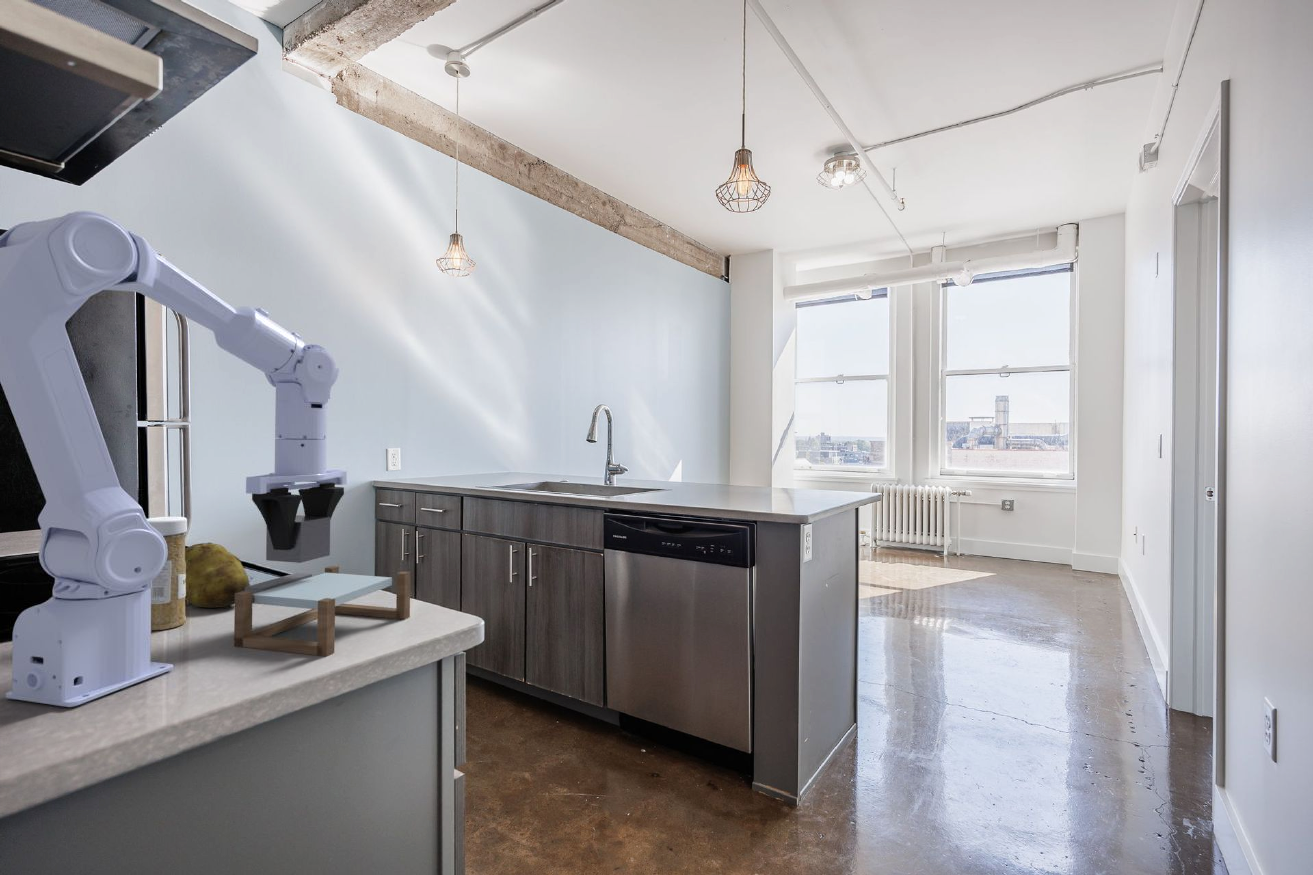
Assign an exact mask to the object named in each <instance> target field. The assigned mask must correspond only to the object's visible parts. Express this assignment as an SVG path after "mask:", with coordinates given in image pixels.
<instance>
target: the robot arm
mask: <svg viewBox="0 0 1313 875" xmlns="http://www.w3.org/2000/svg"><path fill="white" fill-rule="evenodd" d="M103 290H104V291H115V292H116V291H118V292H119V291H120V292H133V293H135V292H136V293H139V294H141V295H143V296H144V297H147V298H148V299H150V300H153V301H155V302H157V303H159V304H160V305H162V306H164V307H166V308H168V309H170V310H172V311H174V312H176V313H178V314H179V315H181V316H183V317H185V318H186V319H188V320H191V321H193V322H194V323H197V324H198V325H200V326H203V327H204V328H206V329H208V330H210V331H212V332H213V335H214V339H215V342H216V345H217V346H218V347H219V348H220V349H222V350H224V351H225V352H227V353H229V354H231V355H232V356H235V357H236V358H238V359H239V360H241V361H243V362H245V363H247V364H249V365H250V366H252V367H254V368H256V370H259V371H260V372H262V373H264V375H265V378H266V380H267V382H268V383H269V384H270V385H271V386H272V387H273V388H275V419H274V420H275V421H274V422H275V423H274V426H275V428H274V438H275V439H274V472H269V474H263V475H254V476H246V477H245V493H246V494H251V501H252V502H253V504H254V505H255V506H256V508H257V509H258V510H259V512H260V514H261V516H262V518H263V520H264V522H265V525H266V529H267V528H268V531H269V535H270V538H271V542H272V545H273V549H274V550H291V548H292V544H293V539H294V525H295V519H296V515H298V514H297V513H298V510H299V507H300V505H301V504H302V508H303V511H304V516H320V517H330V521H331V520H332V516H333V515H334V512H335V509H336V508H337V506H338V504H339V502H340V501H341V499H342V498H343V496H344V495H345V487H343V486H344V485H347V476H348V475H347V474H348V473H347V470H339V469H338V470H337V469H335V470H333V469H332V470H327V426H328V425H327V424H328V423H327V420H328V416H327V415H328V410H327V409H328V402H329V400H331V390H332V388H333V386H334V385H335V383H336V381H337V380H338V378H339V377H338V376H339V373H340V372H339V371H340V370H339V368H338V367H336V363H335V360H334V358H333V356H332V354H330V353H329V351H328V350H327V349H326V348H325V347H323V346H321V345H318V344H312V343H311V344H306V343H305V342H304V340H302V336H301V335H299V334H298V333H296V332H290V331H288V330H287V329H285V328H284V327H282V326H281V325H279V324H278V323H276V322H274V320H273V321H272V320H271V318H269V315H270V314H269V313H270V312H267V311H266V310H265V309H263V308H262V307H260V308H259V307H257V308H253V307H251V306H239V307H233V306H232V305H230V304H229V303H227V302H226V301H224V300H223V299H222V298H220V297H218V296H217V295H216V294H215V293H213V292H211V290H209V289H207V288H206V287H205V286H204V285H202V284H200V282H198V281H196V280H195V279H194V278H192V277H190V276H189V275H188V274H187V273H185V272H184V271H183V270H181V269H179V268H178V267H177V266H175V265H174V264H173V263H171V262H170V261H169V260H167V259H165V258H164V257H162V256H161V255H160V254H159V253H157V252H156V250H155V249H154V248H153V247H152V246H151V244H149V243H148V241H147V240H146V238H144V237H143V236H141V235H138V234H136V233H135V232H132V231H130V230H126V229H125V228H124V227H123V226H122V225H121V224H120V223H118V222H117V221H116V220H114V219H112V218H111V217H109V216H106V215H104V214H102V213H98V212H94V211H88V210H87V211H86V210H78V211H77V210H76V211H73V212H70V213H69V212H68V213H67V214H64V215H62V216H59V217H57V216H56V217H53V218H48V219H44V220H38V221H34V220H33V221H26V222H22V223H18V224H15V225H13V226H12V227H11V228H9V229H8V230H6V231H5V232H4V233H2V234H1V235H0V384H1V387H2V390H3V392H4V395H5V398H6V400H7V402H8V405H9V408H10V410H11V413H12V415H13V417H14V420H15V423H16V427H17V428H18V431H19V434H20V436H21V439H22V441H23V444H24V447H25V449H26V453H27V454H28V458H29V460H30V462H31V465H32V468H33V470H34V473H35V475H36V478H37V481H38V483H39V485H40V486H39V487H40V488H41V491H42V493H43V497H44V499H45V505H44V507H43V509H42V510H41V511H40V513H39V515H38V518H37V522H38V524H39V527H40V530H41V542H40V546H39V551H38V559H39V563H40V565H41V567H42V568H43V570H44V571H45V572H46V573H47V574H48V575H50V576H51V577H53V578H54V584H53V586H52V596H51V597H50V598H49V599H48V600H46V601H45V602H42V603H40V604H37V605H33V606H31V607H28V608H26V609H24V610H23V611H22V612H21V613H20V614H19V615H18V617H17V619H16V621H15V623H14V626H13V630H12V653H11V654H12V658H11V660H12V664H11V665H12V666H11V667H12V668H11V669H12V670H11V671H12V672H11V673H12V674H11V675H12V676H11V677H12V679H11V680H12V681H11V690H10V691H7V692H6V693H5V698H6V699H11V700H19V701H26V702H31V703H40V704H46V705H50V706H51V705H53V706H58V707H67V708H72V707H76V706H79V705H82V704H85V703H88V702H90V701H93V700H95V699H98V698H100V697H103V696H106V695H108V694H111V693H113V692H116V691H119V690H121V689H124V688H128V687H130V686H132V685H134V684H137V683H140V682H143V681H146V680H148V679H150V678H154V677H156V676H160V675H162V674H164V673H166V672H167V673H168V672H169V671H172V670H173V669H174V664H172V663H164V662H156V661H151V648H152V647H151V644H152V642H151V641H152V640H151V639H152V638H151V637H152V635H151V634H152V633H151V632H152V631H151V588H152V580H153V579H154V578H155V577H156V576H157V575H158V574H159V573H160V572H161V570H162V569H163V567H164V565H165V562H166V559H167V553H168V549H167V544H166V541H165V539H164V537H163V536H162V535H161V533H160V532H158V531H157V530H156V529H155V528H153V527H152V526H151V525H150V524H149V522H148V521H147V519H148V518H147V517H146V515H145V512H144V510H143V507H142V506H141V505H140V504H139V503H138V502H137V501H136V500H135V499H134V498H133V497H132V496H131V495H129V494H128V493H127V492H126V490H124V489H123V487H121V485H120V481H119V478H118V476H117V473H116V469H115V466H114V464H113V461H112V458H111V455H110V452H109V450H108V447H107V443H106V440H105V438H104V436H103V432H102V430H101V429H102V428H101V427H100V424H99V421H98V418H97V415H96V412H95V409H94V406H93V403H92V401H91V398H90V394H89V392H88V389H87V386H86V383H85V381H84V378H83V374H82V371H81V370H80V366H79V363H78V360H77V357H76V354H75V352H74V349H73V346H72V343H71V341H70V337H69V334H68V331H67V329H66V323H67V321H69V319H70V318H72V316H73V315H74V314H75V313H76V312H77V311H78V310H79V309H80V308H81V307H82V306H83V305H84V304H85V303H86V301H88V300H89V298H90V297H92V296H94V295H96V294H98V293H100V292H102V291H103ZM302 482H303V483H302ZM305 482H308V483H305ZM296 483H301V484H296ZM342 485H343V486H342ZM291 490H297V491H298V494H292V492H291ZM289 491H290V492H289Z"/></svg>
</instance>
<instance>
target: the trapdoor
mask: <svg viewBox="0 0 1313 875" xmlns="http://www.w3.org/2000/svg"><path fill="white" fill-rule="evenodd" d="M392 586H393V577H391V576H390V577H387V576H378V575H377V576H376V575H375V576H374V575H365V574H364V575H363V574H361V575H360V574H351V573H350V574H349V573H340V572H339V573H325V572H323V573H320V574H316V575H313V573H302V572H294V573H292V574H287V575H284V576H281V577H276V578H273V579H269V580H266V581H262V582H259V583H254V584H250V586H247V587H245V591H251V592H253V595H252V605H253V604H254V605H256V604H257V605H266V606H267V605H268V606H277V607H285V608H286V607H287V608H298V609H308V610H311V609H318V601H319V600H322V599H325V598H331V599H335V606H338V605H340V604H347V603H348V602H351V601H354V600H356V599H360V598H362V597H364V596H367V595H369V594H373V593H375V592H378V591H380V590H383V589H385V588H389V587H392Z"/></svg>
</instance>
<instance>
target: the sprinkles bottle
mask: <svg viewBox="0 0 1313 875" xmlns="http://www.w3.org/2000/svg"><path fill="white" fill-rule="evenodd" d="M146 519H147V521H148V522H149V524H150V525H151V526H152V527H153V528H155V529H156V530H157V531H158V532H160V533H161V535H162V536H163V537H164V539H165V541H166V544H167V549H168V553H167V559H166V562H165V565H164V567H163V569H162V570H161V572H160V573H159V574H158V575H157V576H156V577H155V578H154V579H153V580H152V588H151V632H153V631H163V630H170V629H174V628H178V627H179V626H182V625H184V624H185V623H186V622H187V617H186V599H185V596H186V563H185V549H186V534H187V532H188V518H187V517H184V516H175V515H174V516H171V515H170V516H157V517H156V516H155V517H149V518H146Z"/></svg>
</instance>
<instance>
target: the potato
mask: <svg viewBox="0 0 1313 875" xmlns="http://www.w3.org/2000/svg"><path fill="white" fill-rule="evenodd" d="M185 563H186V596H185V601H187V602H188V603H189V604H192V605H193V606H195V607H199V608H212V609H213V608H221V607H222V608H229V607H231V606H233V605H235V593H238V592H242V591H245V587H247V586H251V583H250V579H249V576H248V574H247V572H246V570H245V568H244V566H243V564H242V561H241V559H240V558H238V557H237V556H236V555H234V554H233V553H231V552H230V551H228V550H227V548H225V547H224V546H223V545H221V544H217V543H212V542H207V543H206V542H202V543H196V544H193V545H190V546H188V547H185Z"/></svg>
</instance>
